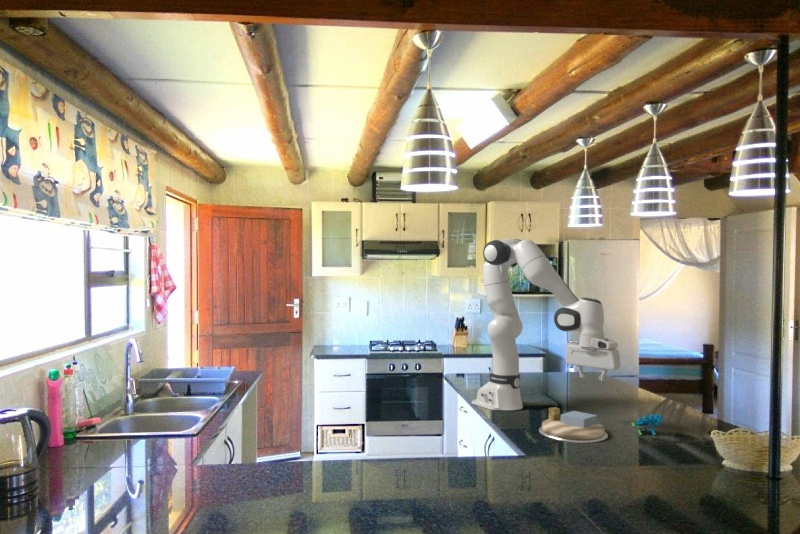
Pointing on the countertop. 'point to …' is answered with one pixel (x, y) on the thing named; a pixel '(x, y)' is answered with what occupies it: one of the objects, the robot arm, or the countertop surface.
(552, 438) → the base
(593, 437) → the turntable
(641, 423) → the blue toy animal
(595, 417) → the cover
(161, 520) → the countertop surface
